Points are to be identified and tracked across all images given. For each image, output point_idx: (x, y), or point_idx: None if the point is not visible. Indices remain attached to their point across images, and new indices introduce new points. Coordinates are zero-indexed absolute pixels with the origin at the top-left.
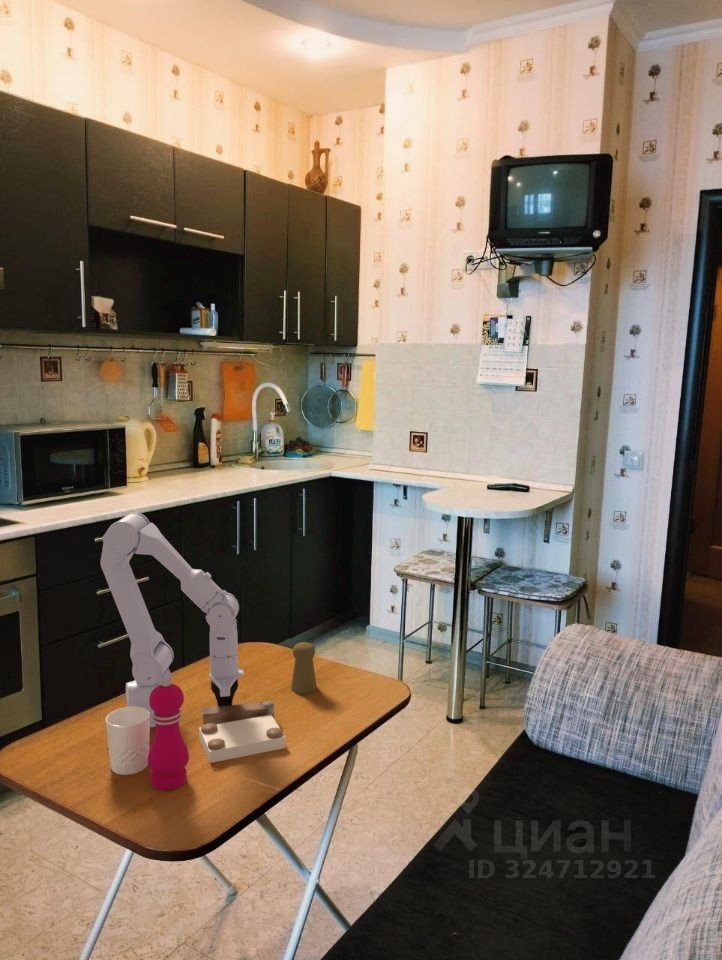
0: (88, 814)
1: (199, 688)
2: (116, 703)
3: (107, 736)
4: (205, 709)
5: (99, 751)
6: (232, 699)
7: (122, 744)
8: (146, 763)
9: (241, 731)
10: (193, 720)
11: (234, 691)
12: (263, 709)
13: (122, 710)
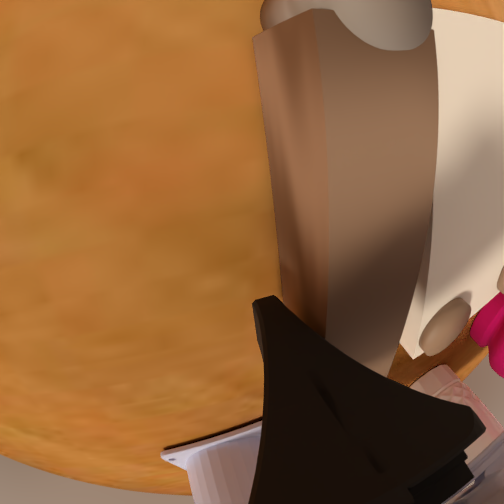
0: (482, 358)
1: (4, 414)
2: (162, 491)
3: None
4: None
5: None
6: (352, 359)
7: None
8: (445, 370)
9: (498, 200)
10: (248, 392)
11: (439, 404)
12: (431, 57)
13: None
